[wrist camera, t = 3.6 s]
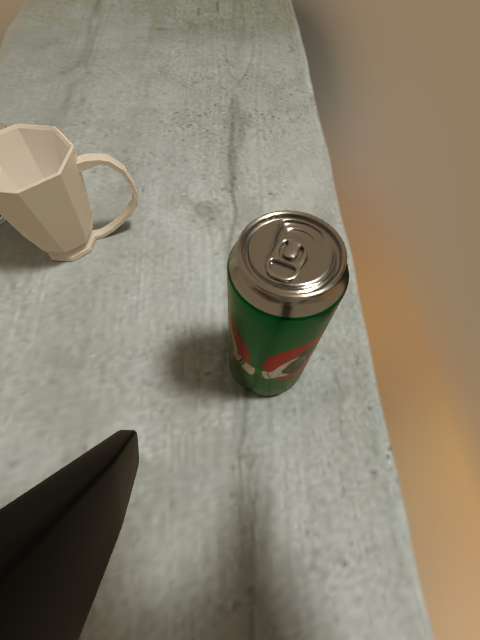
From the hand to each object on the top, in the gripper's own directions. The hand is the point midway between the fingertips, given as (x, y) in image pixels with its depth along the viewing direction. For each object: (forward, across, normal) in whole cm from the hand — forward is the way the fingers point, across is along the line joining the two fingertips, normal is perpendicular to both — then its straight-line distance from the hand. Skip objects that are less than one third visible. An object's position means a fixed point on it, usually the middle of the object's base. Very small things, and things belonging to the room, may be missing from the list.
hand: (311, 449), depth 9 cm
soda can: (+15, 0, +4) cm, 15 cm away
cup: (+22, +15, -3) cm, 27 cm away
